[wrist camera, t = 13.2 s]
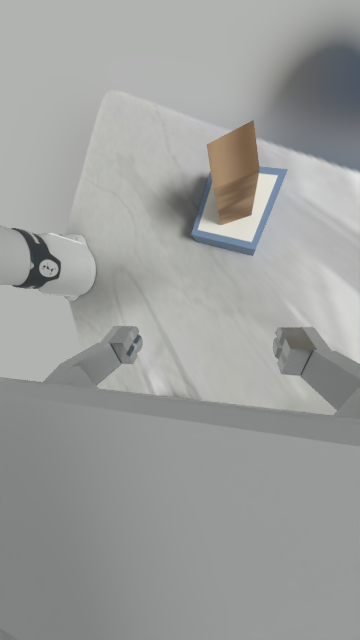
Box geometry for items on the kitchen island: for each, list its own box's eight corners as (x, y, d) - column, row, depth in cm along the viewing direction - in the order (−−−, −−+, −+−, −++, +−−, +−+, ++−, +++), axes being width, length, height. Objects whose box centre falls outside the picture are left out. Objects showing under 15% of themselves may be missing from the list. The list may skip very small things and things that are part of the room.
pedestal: (196, 241, 34) (190, 234, 30) (216, 178, 31) (213, 161, 27) (252, 255, 31) (255, 249, 27) (280, 186, 28) (287, 168, 24)
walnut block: (221, 225, 28) (213, 189, 19) (216, 196, 28) (206, 144, 19) (251, 215, 27) (259, 169, 17) (247, 183, 26) (253, 120, 17)
